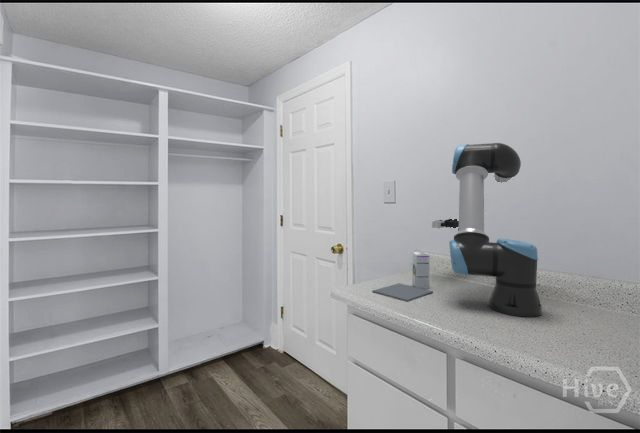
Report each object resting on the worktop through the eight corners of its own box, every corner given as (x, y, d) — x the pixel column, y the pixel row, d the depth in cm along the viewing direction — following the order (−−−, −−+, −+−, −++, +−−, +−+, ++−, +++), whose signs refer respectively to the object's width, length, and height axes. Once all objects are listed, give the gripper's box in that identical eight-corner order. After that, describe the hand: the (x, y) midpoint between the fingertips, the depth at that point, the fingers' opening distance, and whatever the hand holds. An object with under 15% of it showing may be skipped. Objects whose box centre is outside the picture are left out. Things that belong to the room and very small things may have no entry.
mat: (399, 284, 140) (399, 283, 139) (433, 292, 128) (433, 291, 127) (372, 292, 128) (372, 290, 128) (407, 301, 116) (407, 300, 116)
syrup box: (429, 288, 133) (430, 254, 133) (415, 288, 133) (416, 254, 133) (425, 285, 139) (426, 252, 138) (411, 285, 139) (412, 251, 138)
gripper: (473, 231, 152) (449, 234, 137) (445, 229, 163) (420, 232, 147) (474, 215, 152) (450, 216, 136) (445, 214, 162) (420, 215, 147)
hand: (434, 224), depth 142 cm, fingers closed
